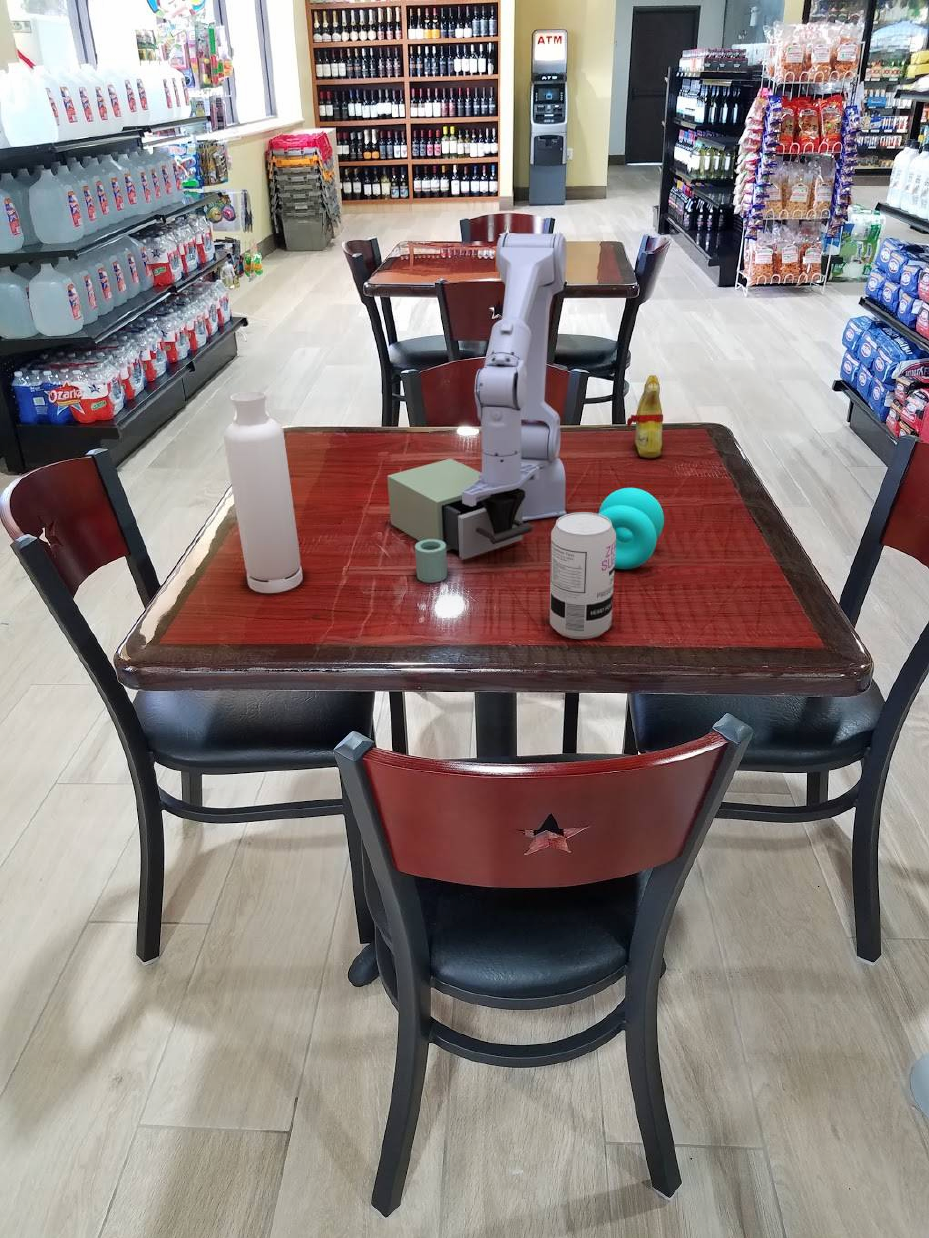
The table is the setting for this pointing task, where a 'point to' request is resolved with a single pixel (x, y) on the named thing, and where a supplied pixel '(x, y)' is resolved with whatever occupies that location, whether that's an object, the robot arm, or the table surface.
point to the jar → (431, 560)
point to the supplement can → (582, 575)
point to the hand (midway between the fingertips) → (502, 535)
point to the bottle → (262, 495)
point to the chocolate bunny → (649, 420)
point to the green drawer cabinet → (427, 496)
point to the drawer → (477, 529)
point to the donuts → (633, 525)
